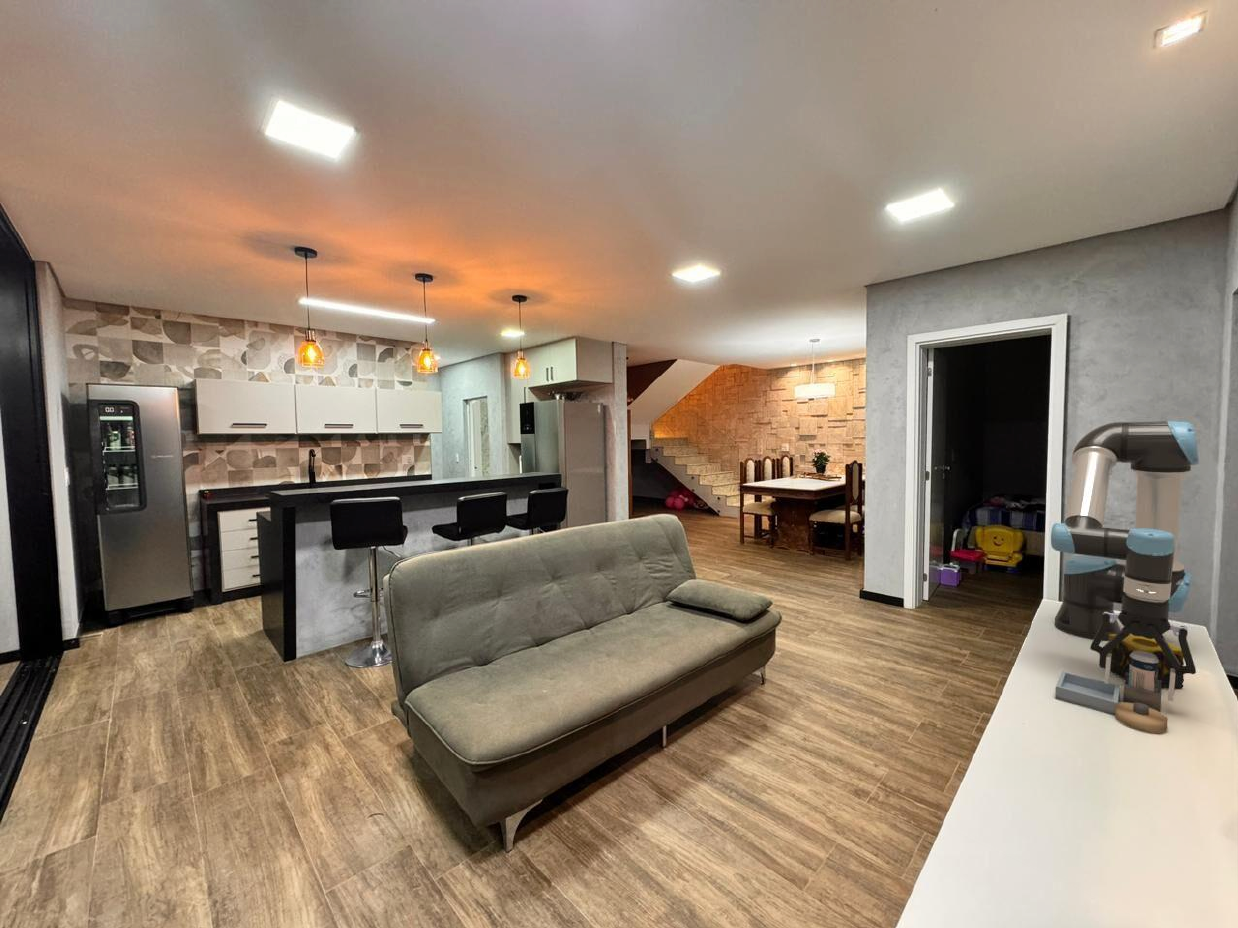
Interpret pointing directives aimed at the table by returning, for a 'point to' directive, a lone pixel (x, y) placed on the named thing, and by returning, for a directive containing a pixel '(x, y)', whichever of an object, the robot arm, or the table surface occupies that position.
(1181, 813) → the table surface
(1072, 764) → the table surface
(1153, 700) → the bracket
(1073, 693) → the tray
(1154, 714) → the disc
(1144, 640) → the yellow holed block
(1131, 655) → the beer can
